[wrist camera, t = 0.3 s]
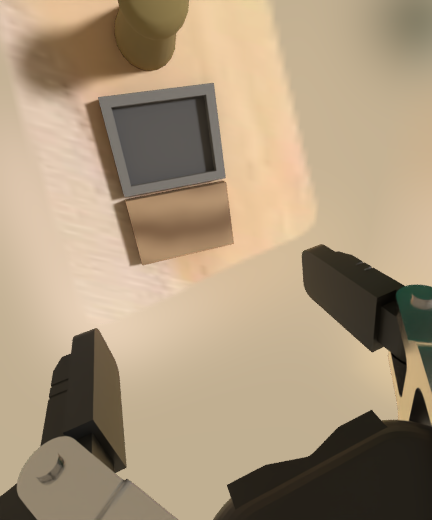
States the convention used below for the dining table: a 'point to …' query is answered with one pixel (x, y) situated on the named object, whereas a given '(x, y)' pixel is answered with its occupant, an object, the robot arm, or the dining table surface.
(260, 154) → the dining table surface
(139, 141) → the shallow grey tray
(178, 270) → the dining table surface
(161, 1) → the cork
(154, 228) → the light brown wooden board
